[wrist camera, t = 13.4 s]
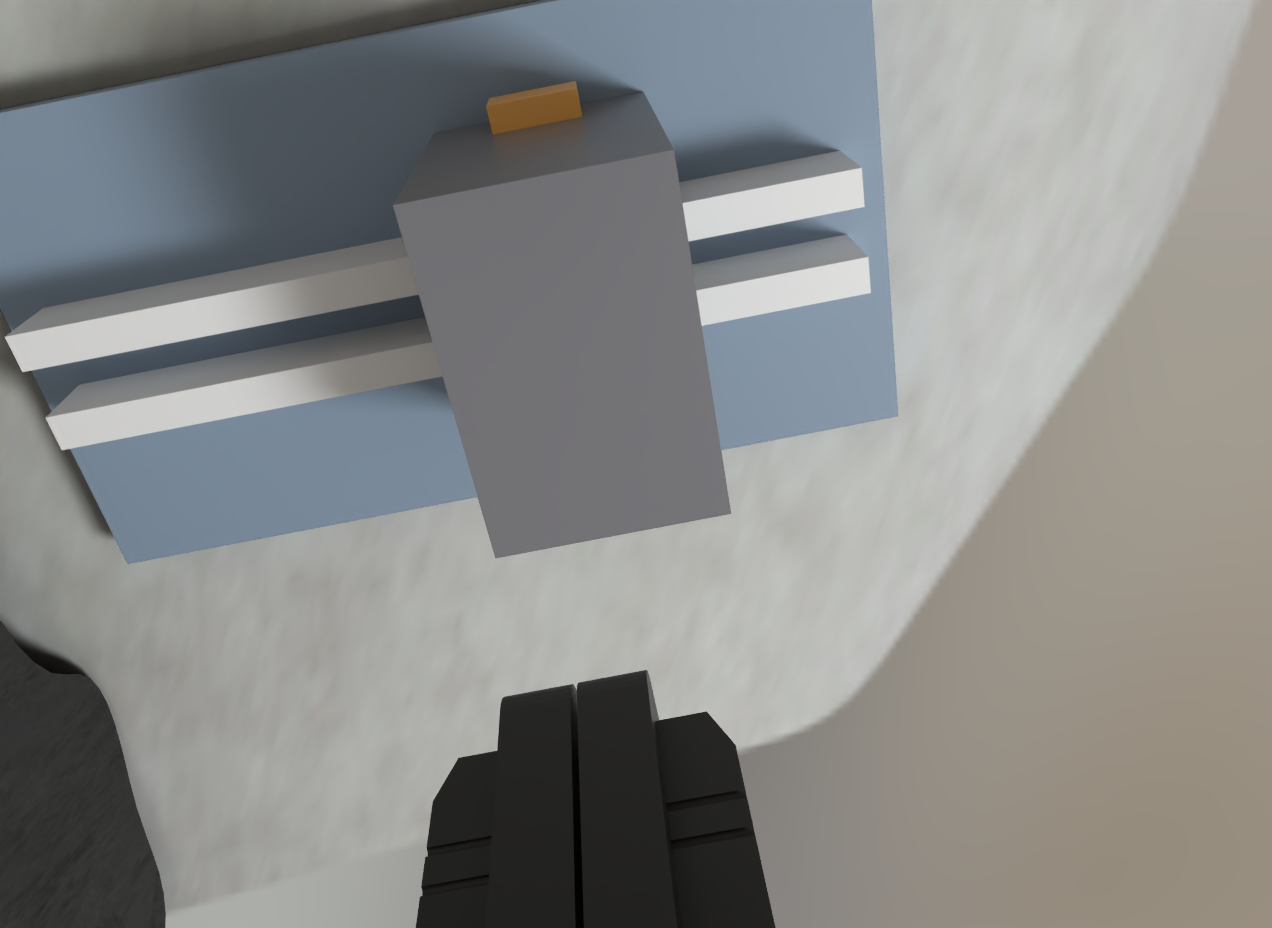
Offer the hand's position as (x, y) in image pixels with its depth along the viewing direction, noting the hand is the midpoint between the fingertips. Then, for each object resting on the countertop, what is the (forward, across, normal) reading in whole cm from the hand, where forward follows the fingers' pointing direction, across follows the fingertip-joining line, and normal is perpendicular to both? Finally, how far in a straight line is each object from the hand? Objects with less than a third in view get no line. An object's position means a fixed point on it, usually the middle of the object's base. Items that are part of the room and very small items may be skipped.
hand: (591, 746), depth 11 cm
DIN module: (+17, 0, 0) cm, 17 cm away
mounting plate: (+18, +3, 0) cm, 19 cm away
